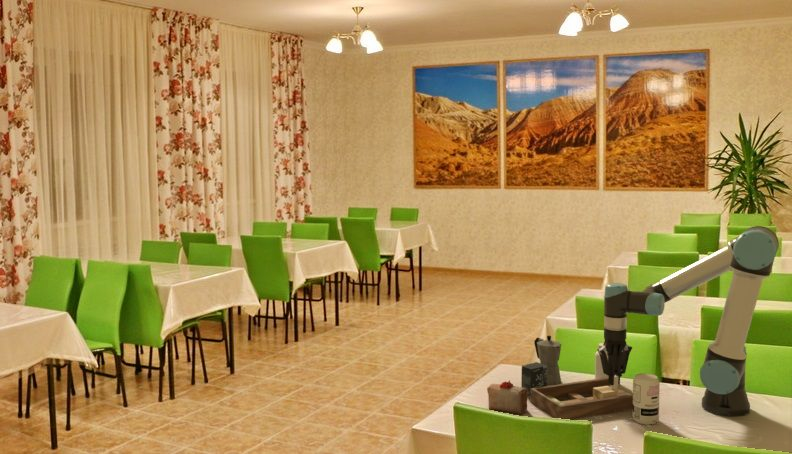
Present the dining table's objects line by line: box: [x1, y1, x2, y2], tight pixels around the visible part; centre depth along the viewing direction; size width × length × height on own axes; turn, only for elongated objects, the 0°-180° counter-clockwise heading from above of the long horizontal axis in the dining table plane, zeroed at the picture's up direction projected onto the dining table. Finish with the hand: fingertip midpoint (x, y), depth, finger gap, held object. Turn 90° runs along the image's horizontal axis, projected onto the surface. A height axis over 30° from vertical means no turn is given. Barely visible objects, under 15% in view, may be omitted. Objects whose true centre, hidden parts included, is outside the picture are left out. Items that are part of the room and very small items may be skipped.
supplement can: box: [632, 373, 661, 426], centre depth 242 cm, size 8×8×15 cm
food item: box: [486, 380, 528, 415], centre depth 256 cm, size 14×8×10 cm, turn 60°
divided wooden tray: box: [530, 377, 633, 420], centre depth 259 cm, size 20×34×5 cm, turn 109°
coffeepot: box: [534, 335, 562, 386], centre depth 285 cm, size 15×9×18 cm, turn 26°
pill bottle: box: [594, 342, 609, 379], centre depth 281 cm, size 8×8×15 cm
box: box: [521, 361, 548, 397], centre depth 272 cm, size 8×6×11 cm
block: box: [593, 386, 618, 400], centre depth 257 cm, size 6×6×4 cm
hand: (614, 393), depth 258 cm, fingers closed
